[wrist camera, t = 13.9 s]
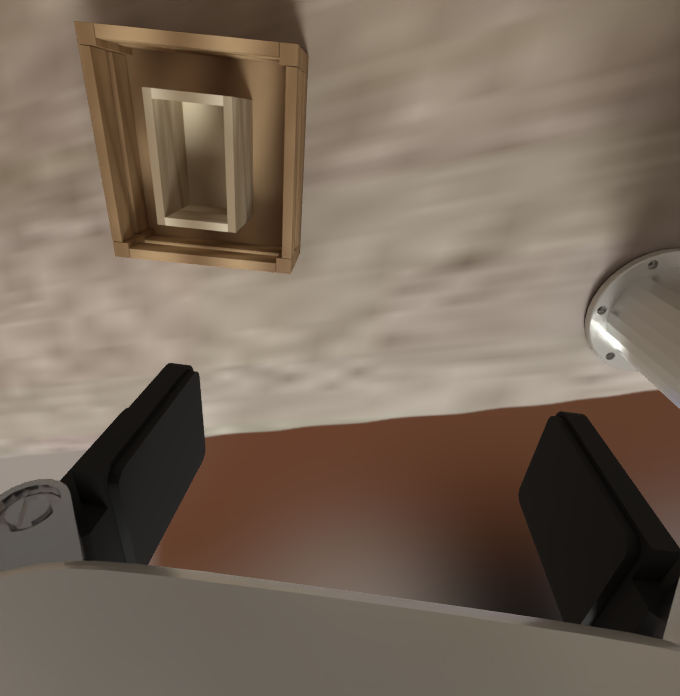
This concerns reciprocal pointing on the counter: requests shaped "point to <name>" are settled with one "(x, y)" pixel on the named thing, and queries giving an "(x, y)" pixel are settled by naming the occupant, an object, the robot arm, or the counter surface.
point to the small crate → (200, 158)
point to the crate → (208, 78)
